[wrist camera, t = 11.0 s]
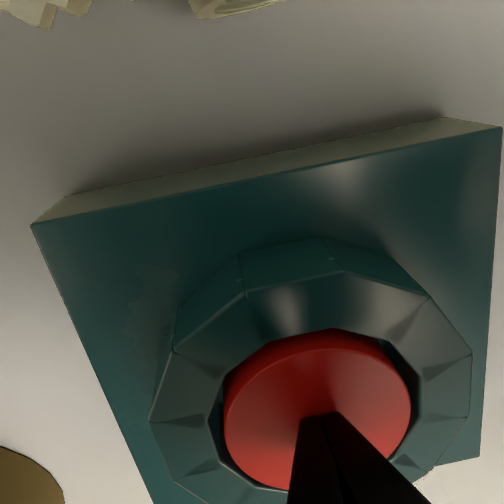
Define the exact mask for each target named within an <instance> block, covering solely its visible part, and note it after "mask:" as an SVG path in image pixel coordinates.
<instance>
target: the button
mask: <svg viewBox="0 0 504 504" xmlns="http://www.w3.org/2000/svg"><path fill="white" fill-rule="evenodd" d="M223 411H224V437H225V441H226V446H227V448H228V451H229V453H230V455H231V456H232V458H233V460H234V461H235V463H236V464H237V465H238V466H239V467H240V468H241V469H242V470H243V471H244V472H245V473H246V474H248V475H249V476H250V477H252V478H254V479H255V480H257V481H259V482H261V483H264V484H266V485H269V486H272V487H275V488H280V489H285V490H289V484H290V477H291V471H292V465H293V458H294V452H295V446H296V440H297V433H298V427H299V422H300V419H301V418H305V417H309V416H314V415H317V416H319V417H320V415H321V414H324V413H328V412H333V411H339V412H340V413H341V414H342V415H343V416H344V417H345V418H346V419H347V420H348V421H349V422H350V423H351V424H352V425H353V426H354V427H355V428H356V429H357V430H358V431H359V432H360V433H361V434H362V435H363V436H364V437H365V438H366V439H367V440H368V441H369V442H370V443H371V444H372V445H373V446H374V447H375V448H376V449H377V450H378V451H379V452H380V453H381V454H382V455H383V456H384V457H385V458H386V459H387V458H388V457H389V456H390V455H391V453H392V452H393V451H394V450H395V449H396V447H397V446H398V445H399V443H400V442H401V440H402V438H403V436H404V435H405V432H406V430H407V427H408V424H409V420H410V413H411V403H410V396H409V393H408V389H407V387H406V385H405V383H404V381H403V379H402V378H401V376H400V374H399V373H398V371H397V370H396V368H395V366H394V365H393V363H392V362H391V360H390V359H389V357H388V355H387V354H386V352H385V351H384V349H383V348H382V346H381V344H380V343H379V341H378V340H377V338H373V337H369V336H365V335H361V334H357V333H353V332H349V331H345V330H342V329H338V328H329V329H324V330H320V331H315V332H310V333H305V334H301V335H296V336H291V337H286V338H282V339H277V340H272V341H270V342H268V343H267V344H266V345H264V346H263V347H262V348H260V349H259V350H258V351H257V352H255V353H254V354H253V355H251V356H250V357H249V358H247V359H246V360H245V361H243V362H242V363H241V364H239V365H238V366H237V367H235V368H234V369H233V370H232V371H230V372H229V373H228V374H226V376H225V378H224V381H223Z"/></svg>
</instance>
